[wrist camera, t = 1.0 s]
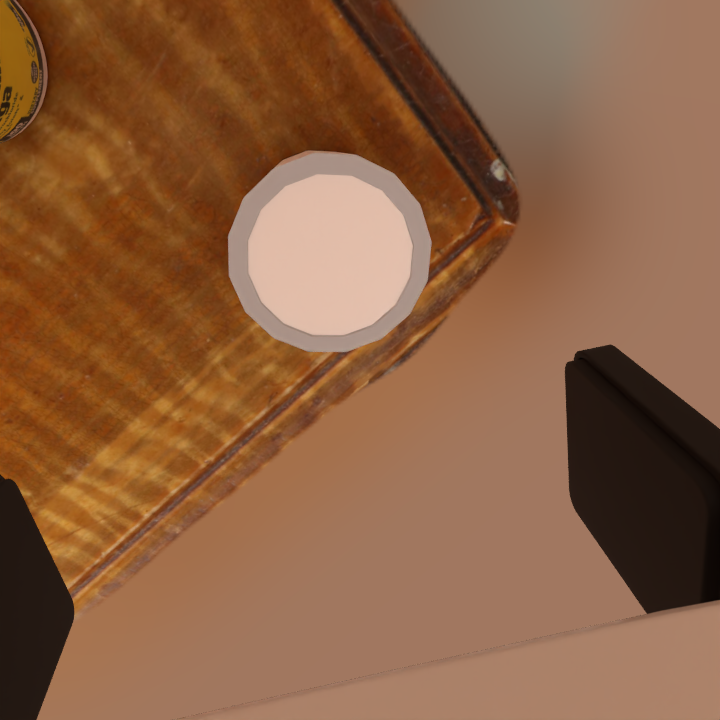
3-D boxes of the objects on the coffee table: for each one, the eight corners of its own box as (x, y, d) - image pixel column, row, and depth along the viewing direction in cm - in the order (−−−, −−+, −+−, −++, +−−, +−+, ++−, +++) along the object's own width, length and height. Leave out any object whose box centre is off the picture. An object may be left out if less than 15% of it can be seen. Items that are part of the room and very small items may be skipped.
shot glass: (424, 242, 28) (466, 290, 22) (295, 320, 29) (299, 388, 23) (346, 100, 26) (368, 108, 19) (205, 191, 26) (182, 227, 20)
